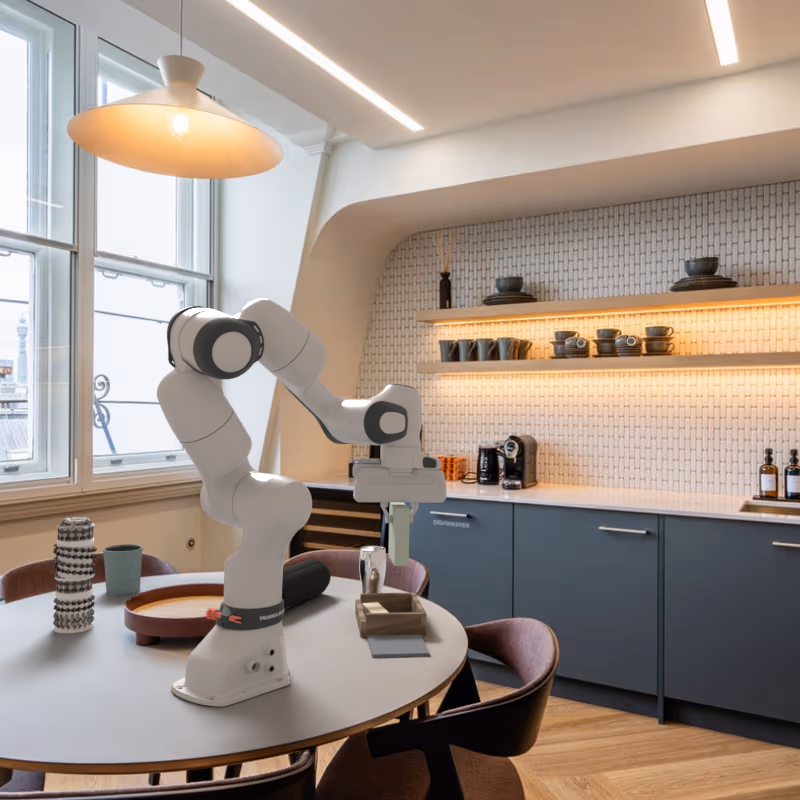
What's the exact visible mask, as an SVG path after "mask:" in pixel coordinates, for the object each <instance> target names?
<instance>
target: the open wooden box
mask: <svg viewBox="0 0 800 800" xmlns="http://www.w3.org/2000/svg"><path fill="white" fill-rule="evenodd" d="M359 595H360V599H359V598H358V599H355V604H354V605H355V609H354V610H355V618H356V623H357V628H358V633H359V635H360V638H367V636H375V635H419V634H420V635H421V637H422V636H427V618H428V617H427V616H428V615H427V612H426V610H425V608H424V607H423V605H422V603H421V601H420V599H419V598H418V595H417V593H416V592H382V593H362V592H361V593H360V594H359ZM372 602H378V603H379V604H380V605H381V606H382V607H383V608H385V609H386V610H387V611H388V612H389V613H366V619H365V615H364V611H363V608H362V603H372Z"/></svg>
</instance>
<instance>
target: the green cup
mask: <svg viewBox="0 0 800 800" xmlns="http://www.w3.org/2000/svg"><path fill="white" fill-rule="evenodd" d="M143 550H144V549H143V545H142V544H135V543H133V544H129V543H128V544H127V543H126V544H116V545H110V546H107V547H103V550H102V552H103V561H104V574H105V575H104V578H105V591H106V594H107V595H109V596H116V597H117V596H119V597H121V596H128V595H133V594H137V593H139V592H140V590H141V575H142V561H143V560H142V559H143Z"/></svg>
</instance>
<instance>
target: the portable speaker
mask: <svg viewBox="0 0 800 800" xmlns="http://www.w3.org/2000/svg"><path fill="white" fill-rule="evenodd" d="M331 578H332V576H331V571H330V569H329V567H328V565H327V564H326V563H324V562H323V561H321V560H319V559H314V558H309V559H305V560H302V561H300V562H297V563H293V564H291V565H288V566H285V567H283V579H282V599H283V600H284V610H288V609H289V608H292V607H294V606H297V605H299V604H302V603H303V602H306V601H308V600H310V599H312V598H315V597H317V596H319V595H321V594H323V593H324V592H325V591H326V590H327V588H328V586H329V585H330V583H331Z"/></svg>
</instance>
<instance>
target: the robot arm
mask: <svg viewBox="0 0 800 800" xmlns="http://www.w3.org/2000/svg"><path fill="white" fill-rule="evenodd" d="M166 341H167V355H168V356H167V357H168V358H167V359H168V363H169V364H170V365H171V367H172V368H173V370H171V371H170V372H169V373H167V374H166V375H165V376H164V377H163V378H162V379H161V380H160V382H159V384H158V386H157V389H156V398H157V401H158V403H159V406H160V409H161V411H162V413H163V415H164V418H165V419H166V422H167V423H168V426H169V427H170V429H171V430H172V432H173V434H174V436H175V437H176V439H177V440H178V441H179V444H181V446H182V448H183V450H184V451H185V452H186V454H187V456H188V457H189V458H190V461H192V463H193V465H194V466H195V468H196V469H197V471H198V475H199V476H200V479H201V482H202V487H201V488H200V492H199V493H200V495H199V503H200V506H201V509H202V511H203V512H204V513H205V515H206V516H207V517H209V518H211V519H212V520H214V521H216V522H218V523H221V524H223V525H224V526H229V527H234V528H241V529H242V536H241V540H240V543H239V546H238V547H237V550H235V551H234V552H232V553H231V554H230V555H229V556H228V557H227V558H226V559H225V562H224V566H223V567H224V568H223V571H224V573H223V600H222V602H221V603H220V607H219V609H218V608H213V607H209V608H207V610H206V611H205V617H206V619H208V620H213V621H215V625H214V626H213V627H212V629H210V631H209V632H208V633H207V634H206V635H205V636H204V638H203V639H202V640H201V641H200V642H199V643H198V644H197V645H196V647H195V648H194V649H193V650H192V651H191V652H190V653H189V656H188V658H187V662H186V667H185V674H184V675H185V676H183V677H182V678H180V679H178V680H176V681H175V682H173V683H172V684H171V691H172V693H173V694H174V695H176V696H177V697H179V698H181V699H183V700H186V701H188V702H191V703H195V704H199V705H203V706H209V707H227V706H229V705H230V706H231V705H233V704H236V703H239V702H242V701H246V700H248V699H251V698H255V697H257V696H261V695H262V694H266V693H269V692H272V691H275V690H277V689H280V688H284V687H286V686H289V685H290V684H291V677H290V675H289V674H290V669H289V666H288V661H287V651H286V641H285V640H286V639H285V635H284V634H285V633H284V629H283V620H284V619H285V610H286V609H285V610H284V600H283V599H282V579H283V568H284V564H285V563H284V562H285V557H286V553H287V551H288V547H289V545H290V543H291V541H292V540H293V537H294V536H295V535H296V533H297V532H298V531H300V530H301V529H302V528H303V527H304V526H305V525H306V524H307V522H308V521H309V518H310V516H311V514H312V509H313V499H312V494H311V492H310V490H309V488H308V487H307V486H306V484H305V483H303V482H301V481H298V480H296V479H295V478H292V477H289V476H286V475H284V474H275V473H274V474H273V473H268V472H267V473H266V472H260V471H257V470H256V469H255V468H254V467H253V466H252V465H251V463H250V461H249V455H250V454H251V450H252V448H253V447H252V446H253V442H252V438H251V436H250V434H249V433H248V431H247V429H246V428H245V426H244V425H243V423H242V421H241V419H240V418H239V416H238V414H237V413H236V411H235V410H234V408H233V406H232V405H231V403H230V402H229V400H228V398H227V397H226V396H225V393H224V391H223V388H222V380H233V379H235V378H238V377H240V376H242V375H244V374H245V373H247V372H248V371H249V369H251V368H252V367H253V366H254V364H255V363H257V362H258V363H259V364H261V365H262V366H263V367H264V368H265V369H266V370H267V371H269V372H270V373H271V374H272V375H274V377H276V378H277V380H279V381H280V382H281V383H282V385H283V386H284V387H285V389H287V391H288V392H289V393H290V394H291V395H292V396H293V397H294V398H295V399H296V400H297V401H298V402H299V403H300V404H301V405H302V406H303V407H304V408H305V409H306V410H307V411H308V412H309V413H310V414H312V416H313V417H314V418H315V419H316V421H317V422H318V425H319V426H320V428H321V430H322V432H323V434H324V435H325V436H326V438H327V439H328V440H329V441H330V442H332V443H334V444H336V445H350V444H351V445H352V444H354V445H365V446H368V445H369V446H380V458H371V459H370V458H369V459H368V458H360V459H359V460H357V461H355V462H354V463H353V465H352V477H353V478H354V484H353V494H352V496H353V499H354V500H355V502H357V503H380V507H381V509H382V511H383V513H384V514H385V516H384V517H385V518H384V520H385V524H389V523H393V520H392V519H393V515H392V514H389V512H388V511H387V508H388V507H389V503H390V502H404V503H410V507H411V509H410V524H414V516H415V514H416V513H417V511H418V509H419V505H420V503H430V504H431V503H432V504H433V503H438V504H439V503H444V502H445V501H446V499H447V483H446V477H445V474H444V472H443V471H442V470H440V469H441V468H442V466H443V462H442V460H441V459H440V458H438V457H436V456H433V455H430V454H429V453H426V452H422V441H421V437H420V435H421V434H420V433H421V429H422V425H423V424H422V422H423V421H422V420H423V418H422V416H423V413H422V412H423V411H422V409H423V408H422V398H421V395H420V392H419V390H418V389H417V388H415V387H413V386H410V385H407V384H399V383H392V384H391V383H390V384H387V385H386V386H385V387H384V389H383V390H382V391H381V392H379V393H378V394H376V395H375V396H371V397H369V398H362V399H361V398H347V397H341V396H338V395H336V394H335V393H334V392H332V391H331V389H330V388H329V387H327V386H326V384H325V383H324V382H323V381H322V380H321V379H320V376H321V375H322V373H323V372H324V370H325V367H326V364H327V360H328V359H327V358H328V357H327V355H328V353H327V347H326V346H325V344H324V343H323V342H322V340H321V339H320V338H319V336H318V335H317V334H316V333H315V332H314V331H313V330H312V329H311V328H310V327H308V326H307V324H306V323H304V322H303V321H301V319H299V317H297V316H296V315H294V314H293V313H291V312H290V311H289V310H288V309H286V308H284V307H283V306H281V305H280V304H279V303H277V302H275V301H273V300H271V299H269V298H268V299H267V298H262V297H261V298H256V299H253V300H252V301H249V302H248V303H247V304H246V305H244V306H243V307H242V309H240V310H239V312H238V313H236V314H235V315H233V316H232V315H229V314H227V313H224V312H223V311H220V310H218V309H217V310H216V309H213V308H208V307H206V306H202V305H194V306H188V307H185V308H183V309H180V310H179V311H177V312H176V313H175V314H174V315H173V316H172V317H171V319H169V321H168V323H167V329H166Z"/></svg>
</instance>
